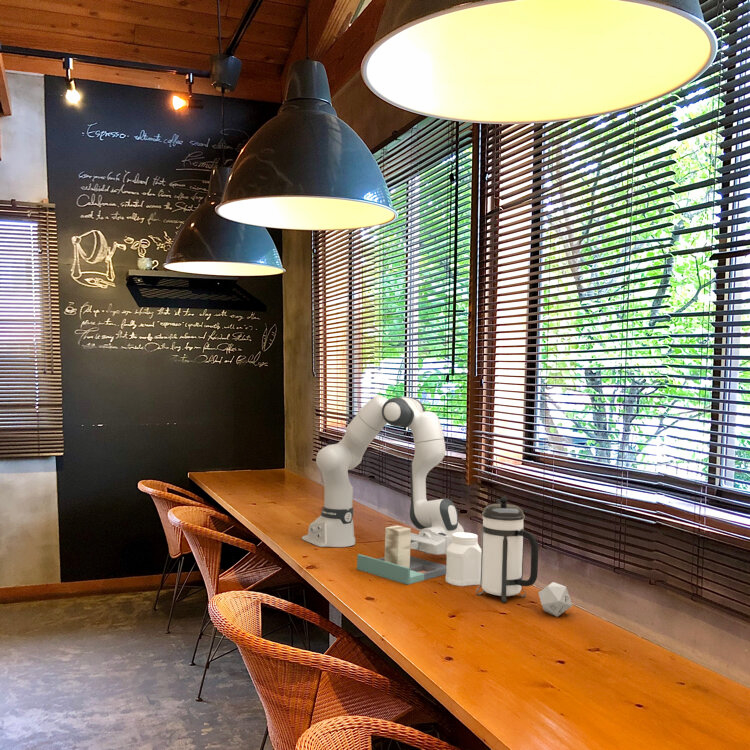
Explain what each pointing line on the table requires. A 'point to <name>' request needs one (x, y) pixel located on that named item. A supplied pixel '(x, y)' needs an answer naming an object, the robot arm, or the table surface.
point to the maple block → (398, 545)
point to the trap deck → (401, 569)
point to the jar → (463, 560)
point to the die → (555, 599)
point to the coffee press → (505, 551)
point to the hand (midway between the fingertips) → (403, 546)
